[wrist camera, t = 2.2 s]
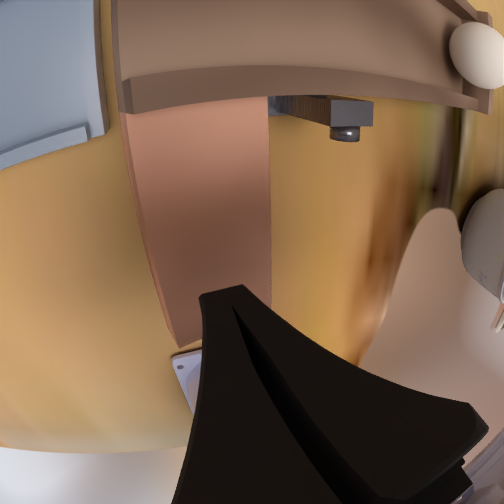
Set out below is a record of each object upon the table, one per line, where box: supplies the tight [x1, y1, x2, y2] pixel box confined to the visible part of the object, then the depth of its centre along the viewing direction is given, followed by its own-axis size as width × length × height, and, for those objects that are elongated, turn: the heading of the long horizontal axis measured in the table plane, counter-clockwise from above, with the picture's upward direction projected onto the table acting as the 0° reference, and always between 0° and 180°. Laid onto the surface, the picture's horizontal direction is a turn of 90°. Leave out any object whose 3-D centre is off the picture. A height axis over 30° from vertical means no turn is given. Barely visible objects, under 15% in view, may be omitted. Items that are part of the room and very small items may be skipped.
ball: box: [449, 22, 504, 89], centre depth 10 cm, size 4×4×4 cm
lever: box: [111, 0, 493, 348], centre depth 10 cm, size 15×20×3 cm
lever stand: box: [267, 95, 374, 142], centre depth 10 cm, size 11×4×6 cm, turn 3°
